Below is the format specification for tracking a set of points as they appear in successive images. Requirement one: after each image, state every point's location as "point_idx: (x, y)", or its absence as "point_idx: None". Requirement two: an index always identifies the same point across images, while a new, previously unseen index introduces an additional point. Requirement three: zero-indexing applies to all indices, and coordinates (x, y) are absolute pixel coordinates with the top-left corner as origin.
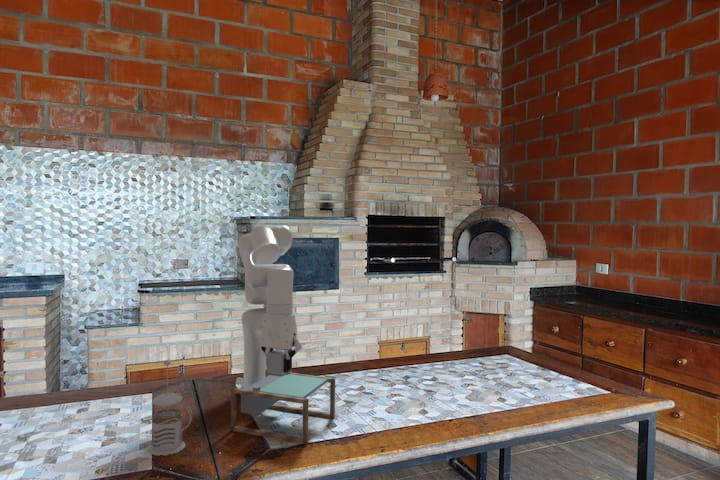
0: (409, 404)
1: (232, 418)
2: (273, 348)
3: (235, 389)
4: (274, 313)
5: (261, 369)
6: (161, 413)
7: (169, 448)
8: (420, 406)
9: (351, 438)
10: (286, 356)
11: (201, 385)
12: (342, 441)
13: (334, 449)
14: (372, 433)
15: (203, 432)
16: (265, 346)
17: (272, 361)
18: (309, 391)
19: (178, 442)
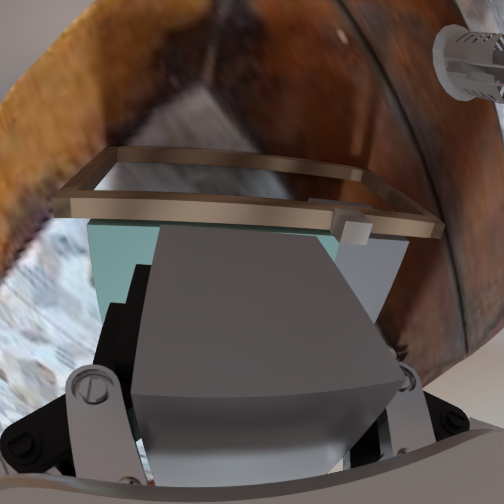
0: (34, 394)
1: (381, 180)
2: (337, 474)
3: (431, 222)
4: None
5: None
6: None
7: (454, 35)
8: (16, 389)
9: (23, 228)
10: (110, 400)
11: (456, 343)
12: (32, 204)
13: (29, 152)
14: (3, 268)
15: (424, 145)
16: (471, 442)
17: (293, 308)
18: (101, 298)
19: (451, 51)
